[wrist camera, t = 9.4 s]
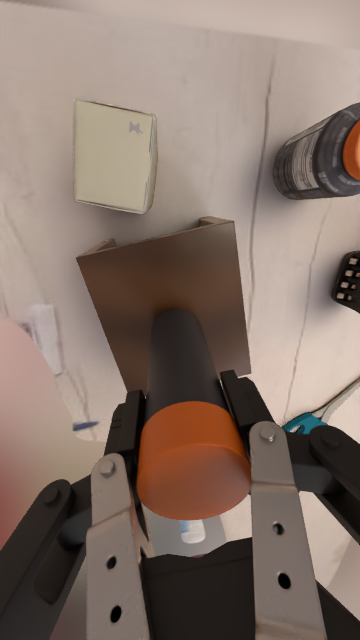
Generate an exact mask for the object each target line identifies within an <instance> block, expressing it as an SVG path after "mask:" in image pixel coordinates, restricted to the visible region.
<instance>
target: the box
mask: <svg viewBox="0 0 360 640" xmlns="http://www.w3.org/2000/svg"><path fill="white" fill-rule="evenodd" d="M157 161H158V151H157V125H156V116H155V115H154V114H152V113H149V112H144V111H139V110H135V109H131V108H126V107H122V106H117V105H112V104H108V103H102V102H97V101H91V100H85V99H78V98H77V99H75V101H74V117H73V169H74V197H75V200H76V201H77V202H81V203H85V204H90V205H95V206H99V207H104V208H109V209H114V210H120V211H125V212H131V213H138V214H145V212H146V211H147V210H148V209H149V208H151V206H152V203H153V196H154V189H155V180H156V171H157Z"/></svg>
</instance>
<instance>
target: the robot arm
mask: <svg viewBox="0 0 360 640" xmlns="http://www.w3.org/2000/svg"><path fill="white" fill-rule="evenodd" d="M220 376H221V382H222V387H223V392H224V395H225V398H226V401H227V404H228V407H229V409H230V412H231V415H232V417H233V418H234V420H235V421H236V424H237V426H238V429H239V432H240V435H241V438H242V440H243V443H244V446H245V448H246V451H247V454H248V457H249V460H250V463H251V515H252V537H250V538H245V539H240V540H235V541H230V542H227V543H225V544H224V545H222V546H220V547H218V548H217V549H215V550H213V551H211V552H210V553H208V554H206V555H204V556H203V557H200V558H193V557H186V556H178V555H172V554H166V555H161V556H155V554H154V551H153V547H152V543H151V538H150V533H149V529H148V524H147V519H146V515H145V510H144V505H143V503H142V502H141V500H140V499H139V496H138V493H137V489H136V483H137V472H138V460H139V449H140V438H141V433H142V430H143V428H144V418H145V405H146V399H145V396H144V393H143V391H142V389H140V390H136V391H131V392H128V393H127V396H126V401H125V403H123V404H119V405H118V407H117V408H116V410H115V411H114V413H113V417H112V423H111V426H110V430H109V434H108V439H107V443H106V447H105V452H104V456H103V457H102V458H101V459H100V460H99V461H98V462H97V463H96V464H95V466H94V468H93V469H92V472H91V474H90V475H89V476H87V477H85V478H83V479H81V480H79V481H77V482H75V483H74V484H72V485H70V483H69V482H68V481H67V480H64V479H60V480H56V481H54V482H52V483H50V484H49V485H47V486H46V487H45V488H44V489H43V490H42V491H41V492H40V494H39V495H38V497H37V498H36V499H35V501H34V502H33V504H32V505H31V507H30V508H29V510H28V511H27V513H26V514H25V516H24V517H23V518H22V520H21V521H20V523H19V524H18V526H17V527H16V529H15V530H14V532H13V533H12V535H11V536H10V538H9V539H8V541H7V542H6V544H5V545H4V547H3V548H2V550H1V551H0V640H49V639H50V636H51V634H52V632H53V629H54V627H55V625H56V623H57V620H58V618H59V616H60V613H61V611H62V609H63V607H64V604H65V602H66V600H67V597H68V595H69V593H70V591H71V588H72V586H73V584H74V581H75V579H76V577H77V575H78V572H79V570H80V567H81V565H82V563H83V561H84V559H85V556H86V591H87V592H86V593H87V594H86V598H87V640H360V621H359V620H358V619H357V618H356V617H355V616H354V615H353V614H352V613H351V612H349V611H348V610H347V609H346V608H345V607H344V606H343V605H342V604H341V603H340V602H339V601H338V600H337V599H336V598H334V596H333V595H332V594H330V593H329V592H328V591H327V590H326V589H325V588H324V587H323V586H322V585H321V584H320V583H319V582H318V581H317V580H316V579H315V575H314V569H313V564H312V559H311V554H310V549H309V544H308V539H307V534H306V528H305V523H304V518H303V513H302V508H301V503H300V498H299V493H298V490H300V491H307V492H313V493H314V494H315V496H316V497H317V498H318V499H319V500H320V501H321V502H322V503H323V505H324V506H325V507H326V508H327V509H328V510H329V511H330V512H331V514H332V515H333V516H334V517H335V518H336V519H337V520H338V521H339V522H340V524H341V525H342V526H343V527H344V528H345V529H346V530H347V531H348V533H349V534H350V535H351V536H352V537H353V538H354V539H355V540H356V541H357V542H358V543H359V545H360V444H359V443H357V442H356V441H355V440H354V439H352V438H351V437H350V436H348V435H347V434H346V433H344V432H343V431H342V430H340V429H338V428H336V427H333V426H329V425H319V426H316V427H314V428H313V429H312V430H311V431H310V433H309V434H302V433H292V432H289V431H286V430H284V429H282V428H281V427H280V426H279V425H277V424H276V423H275V421H274V420H273V418H272V416H271V414H270V412H269V410H268V408H267V407H266V405H265V403H264V401H263V399H262V398H261V395H260V393H259V391H258V390H257V388H256V386H255V384H254V382H253V381H251V380H250V379H249V378H247V377H243V378H238V377H237V375H236V373H235V371H234V369H233V370H228V371H223V372H220Z"/></svg>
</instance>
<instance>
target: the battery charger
mask: <svg viewBox="0 0 360 640" xmlns="http://www.w3.org/2000/svg"><path fill="white" fill-rule="evenodd" d="M332 298H333V300H334V301H336V302H337V303H339V304H342V305H344V306H346V307H349V308H351V309H353V310H355V311H357V312H358V313H360V251H355V252H351V253H349V254H348V255H347V256H346V257H345V259H344V261H343V264H342V266H341V269H340V272H339V275H338V278H337V281H336V284H335V287H334V290H333V293H332Z"/></svg>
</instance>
